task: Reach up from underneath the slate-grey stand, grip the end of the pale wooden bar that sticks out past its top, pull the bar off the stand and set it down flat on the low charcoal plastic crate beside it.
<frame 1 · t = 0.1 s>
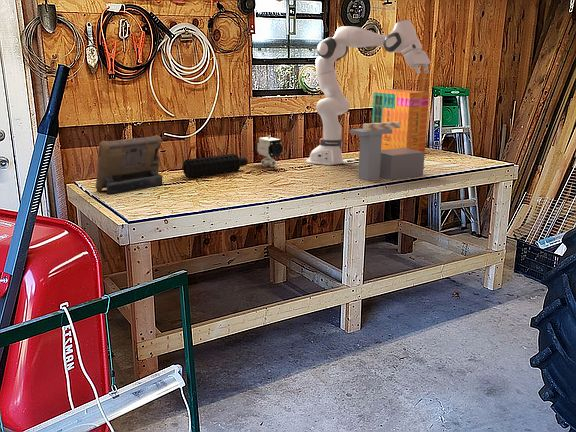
hand: (423, 73, 296), 54 cm above the table, tool tilted 30°, fingers open, 8 cm apart
orange green grid box: (397, 150, 391), on the table
bar: (381, 128, 297), point 26 cm above the table, touching stand
roller: (217, 174, 310), on the table
white security camera: (268, 166, 332), on the table
tablet: (131, 188, 276), on the table
crate: (397, 175, 311), on the table
stand: (368, 178, 301), on the table
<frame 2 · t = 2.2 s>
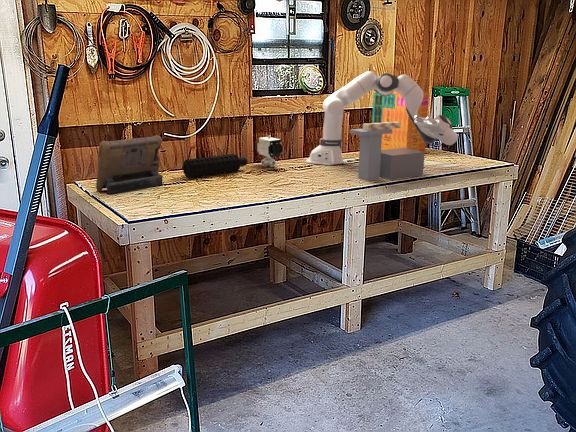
hand: (421, 117, 309), 31 cm above the table, tool pointing upward, fingers open, 8 cm apart
nothing on the table moved.
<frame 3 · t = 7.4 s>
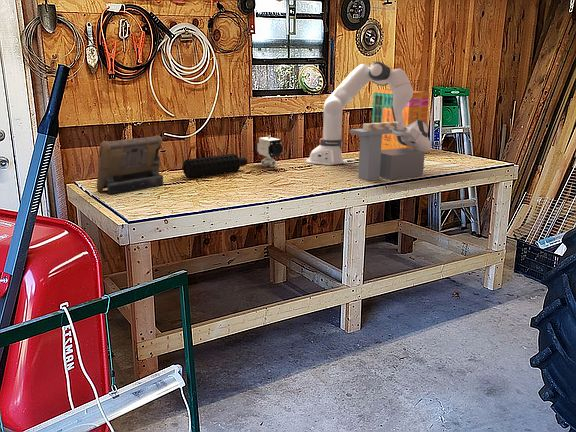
hand: (392, 124, 300), 28 cm above the table, tool pointing upward, fingers closed on bar, 4 cm apart
bar: (381, 128, 297), point 26 cm above the table, touching gripper, stand
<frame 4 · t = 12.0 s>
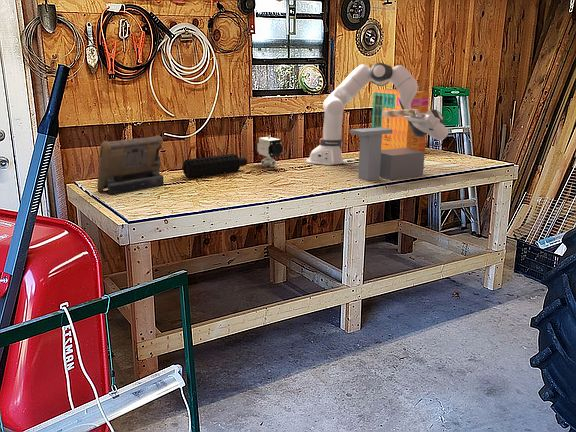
hand: (411, 111, 305), 34 cm above the table, tool pointing upward, fingers closed on bar, 4 cm apart
bar: (400, 115, 302), point 32 cm above the table, touching gripper
when the fingers open (19 cm above the table, at t = 16.6 s): bar drops 4 cm, resting on crate.
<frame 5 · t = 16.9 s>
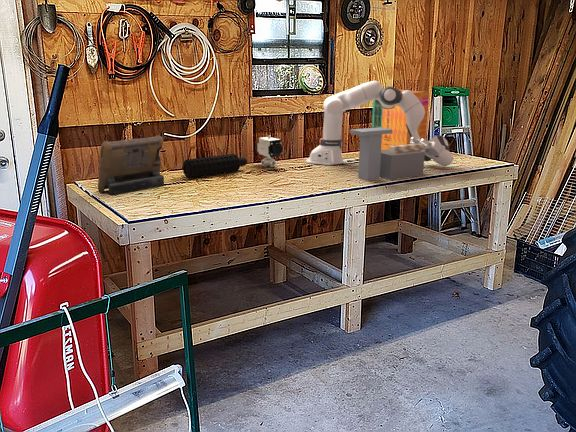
hand: (417, 138, 312), 19 cm above the table, tool pointing upward, fingers open, 7 cm apart
bar: (406, 150, 310), point 13 cm above the table, touching crate
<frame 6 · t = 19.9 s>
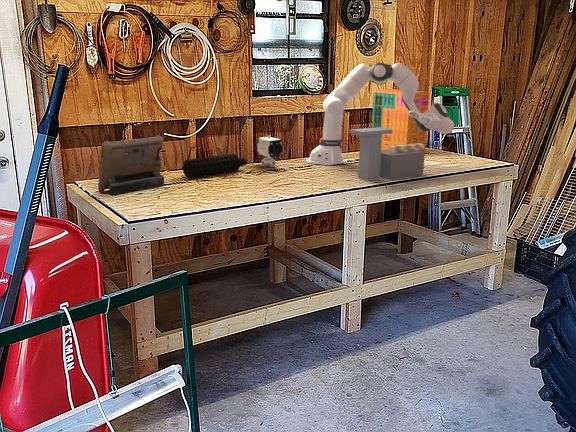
hand: (414, 114, 308), 32 cm above the table, tool pointing upward, fingers open, 8 cm apart
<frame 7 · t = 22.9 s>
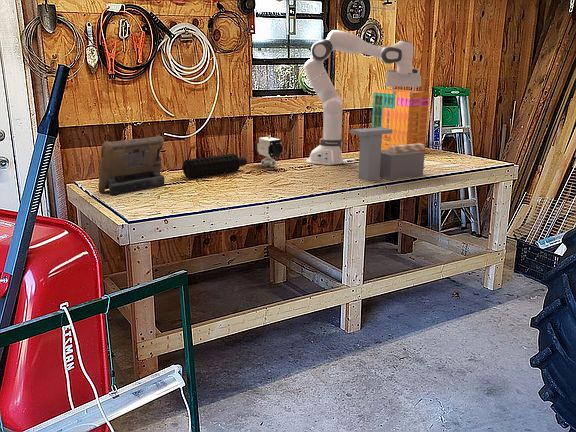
hand: (402, 94, 329), 41 cm above the table, tool pointing down, fingers open, 8 cm apart
at the end: bar inside the target area on the crate (1.6 cm from its centre), point 13.0 cm above the crate's base; bar touching crate; the gripper is holding nothing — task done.
